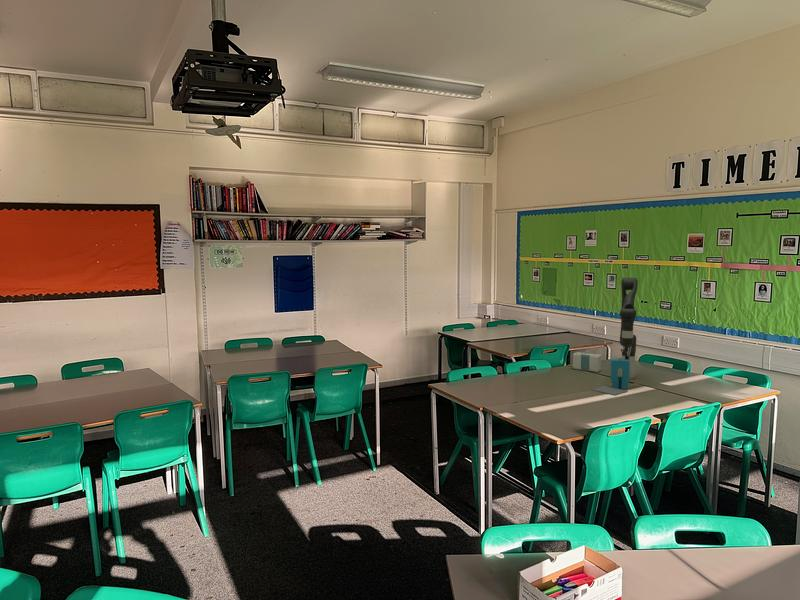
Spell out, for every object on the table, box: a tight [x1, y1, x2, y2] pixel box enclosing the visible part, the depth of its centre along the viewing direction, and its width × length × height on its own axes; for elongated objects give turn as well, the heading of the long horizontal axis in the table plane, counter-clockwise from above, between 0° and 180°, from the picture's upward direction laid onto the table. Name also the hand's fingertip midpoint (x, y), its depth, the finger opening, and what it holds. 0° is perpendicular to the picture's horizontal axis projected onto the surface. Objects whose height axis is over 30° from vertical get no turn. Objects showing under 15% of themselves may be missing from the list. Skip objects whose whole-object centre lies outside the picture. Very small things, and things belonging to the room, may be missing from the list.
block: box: [610, 358, 630, 390], centre depth 387 cm, size 12×5×20 cm, turn 73°
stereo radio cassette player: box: [572, 346, 602, 373], centre depth 442 cm, size 21×8×20 cm, turn 50°
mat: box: [591, 385, 629, 396], centre depth 381 cm, size 15×18×1 cm
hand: (626, 361), depth 391 cm, fingers closed
